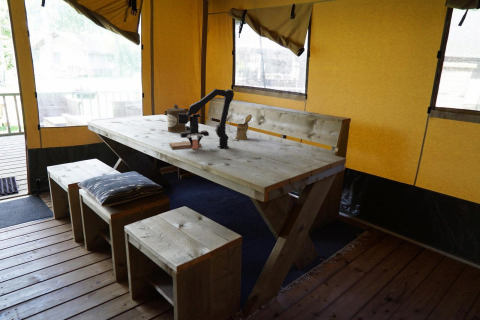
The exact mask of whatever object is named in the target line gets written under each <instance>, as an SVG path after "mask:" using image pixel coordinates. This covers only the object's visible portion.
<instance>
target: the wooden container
mask: <svg viewBox="0 0 480 320" xmlns="http://www.w3.org/2000/svg"><path fill="white" fill-rule="evenodd" d="M178 114H186V110H185V108H182V107H179V105H178V104H174V105H173V107H172V108H171V107H170V108H167V109H166V115H167V116H166V117H167V121H166V122H167V131H168V132H170V133H180V132H187V131H186V127H185V126H187V124H178V118H179V117H178Z"/></svg>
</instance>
